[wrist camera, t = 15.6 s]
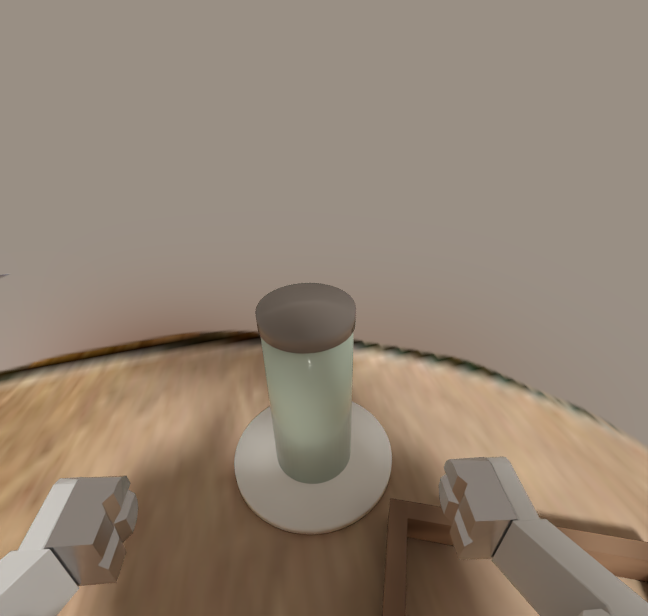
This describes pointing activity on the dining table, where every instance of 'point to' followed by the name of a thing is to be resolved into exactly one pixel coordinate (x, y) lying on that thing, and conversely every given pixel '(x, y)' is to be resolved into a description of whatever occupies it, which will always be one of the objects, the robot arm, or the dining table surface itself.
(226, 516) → the dining table surface
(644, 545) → the walnut box
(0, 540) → the dining table surface
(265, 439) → the coaster
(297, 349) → the sage jar
